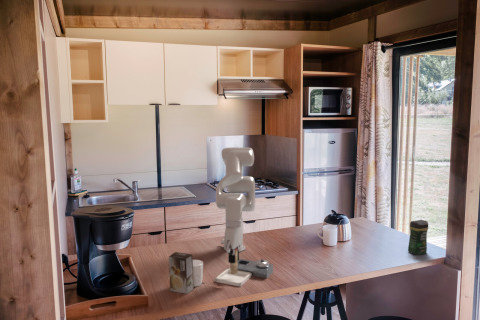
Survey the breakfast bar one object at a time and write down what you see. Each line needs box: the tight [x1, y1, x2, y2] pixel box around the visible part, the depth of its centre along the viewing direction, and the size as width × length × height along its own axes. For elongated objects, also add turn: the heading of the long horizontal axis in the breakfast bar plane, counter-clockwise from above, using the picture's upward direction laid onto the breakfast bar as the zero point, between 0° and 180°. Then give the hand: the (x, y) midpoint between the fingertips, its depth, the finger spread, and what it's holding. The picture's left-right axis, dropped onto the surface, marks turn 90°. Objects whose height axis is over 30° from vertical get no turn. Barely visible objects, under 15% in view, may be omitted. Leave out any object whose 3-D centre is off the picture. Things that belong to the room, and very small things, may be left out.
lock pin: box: [229, 247, 238, 274], centre depth 189 cm, size 3×3×12 cm
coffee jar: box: [407, 219, 429, 255], centre depth 227 cm, size 10×8×19 cm
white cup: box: [193, 259, 204, 288], centre depth 187 cm, size 8×8×10 cm
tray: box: [214, 268, 253, 288], centre depth 191 cm, size 13×13×2 cm
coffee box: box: [168, 251, 194, 295], centre depth 180 cm, size 9×6×16 cm
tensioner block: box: [237, 258, 274, 279], centre depth 198 cm, size 18×8×8 cm, turn 65°
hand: (233, 260), depth 190 cm, fingers closed on lock pin, 3 cm apart
